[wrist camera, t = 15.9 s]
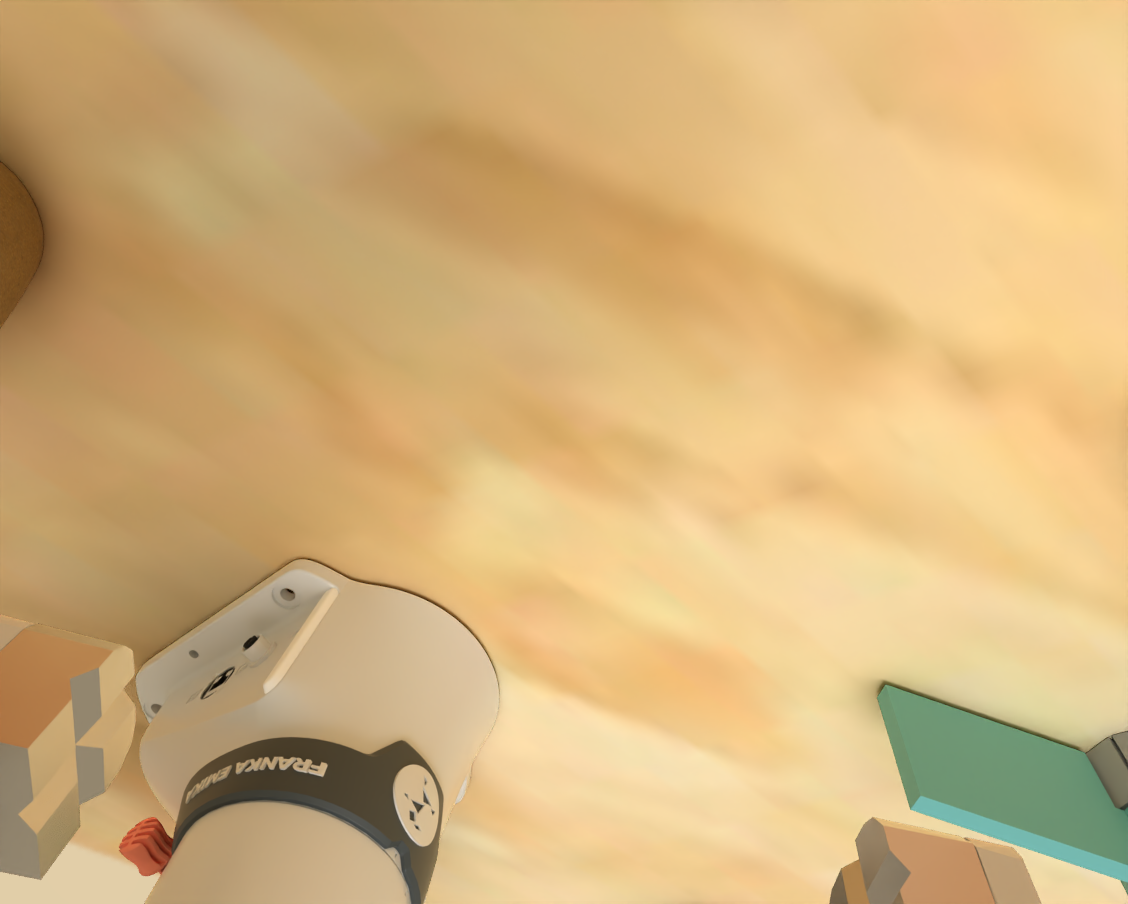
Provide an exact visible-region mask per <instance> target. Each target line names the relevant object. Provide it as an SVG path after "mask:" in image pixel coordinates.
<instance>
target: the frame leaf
mask: <svg viewBox="0 0 1128 904" xmlns="http://www.w3.org/2000/svg"><path fill="white" fill-rule="evenodd" d="M1112 737H1113V740H1114V741H1113V740H1112V739H1110V738H1106V739H1105V740H1104V741H1102V742H1101V743H1100V744H1098V745H1097V746H1096V747H1094V748H1093V749H1091V750H1090V751H1089V752H1087V753H1086V755H1087V757H1088V759H1089V761H1090V763H1091V764H1092V766H1093V768H1094V770H1095V772H1096V773H1097V775H1098V777H1099V779H1100V781H1101V783H1102V784H1103V786H1104V788H1105V790H1106V792H1107V793H1108V795H1109V797H1110V799H1111V801H1112V802H1113V804H1114V806H1115V808H1118V809H1121V810H1124V811H1125V809H1126V808H1127V807H1128V731H1127V732H1123V733H1119V734H1116V735H1112Z"/></svg>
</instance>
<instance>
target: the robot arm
mask: <svg viewBox="0 0 1128 904" xmlns="http://www.w3.org/2000/svg"><path fill="white" fill-rule="evenodd" d="M286 588H288V589H291V590H292V591H293V592H294V593H295V594H293V593H290V592H288V591H287V590H286ZM134 675H135V669H134V656H133V650H131V649H129V648H128V647H126V646H125V645H121V644H117V643H113V642H109V641H105V640H102V639H98V638H94V637H90V636H86V635H82V634H78V633H74V632H70V631H67V630H63V629H59V628H55V627H51V626H47V625H43V624H39V623H38V624H35V623H31V622H27V621H24V620H20V619H16V618H12V617H8V616H4V615H1V614H0V872H5V873H9V874H15V875H19V876H24V877H30V878H34V879H40V880H41V879H42V878H43V876H44V875H45V874H46V872H47V871H48V869H49V868H50V867H51V865H52V864H53V863H54V861H55V860H56V858H57V857H58V856H59V854H60V853H61V852H62V850H63V849H64V848H65V846H66V845H67V843H68V842H69V841H70V839H71V838H72V837H73V835H74V834H75V833H76V831H77V830H78V828H79V827H80V812H79V805H80V804H82V803H84V802H86V801H88V800H90V799H92V798H94V797H96V796H98V795H100V794H102V793H104V792H105V791H106V790H107V788H108V787H109V785H110V784H111V782H112V781H113V780H114V778H115V777H116V775H117V774H118V772H119V771H120V769H121V767H122V764H123V762H124V760H125V758H126V755H127V753H128V751H129V748H130V746H131V744H132V739H133V734H134V729H135V724H136V706H135V704H134V703H133V702H132V700H131V699H130V697H129V696H128V695H127V693H126V692H125V691H124V688H125V686H126V685H127V684H128V683H129V681H130V680H131V679H132V678H133V676H134ZM136 688H137V694H138V698H139V701H140V704H141V707H142V710H143V712H144V714H145V716H146V718H147V720H148V722H149V724H150V725H149V726H148V728H147V730H146V731H145V733H144V735H143V737H142V739H141V743H140V750H139V758H140V763H141V768H142V771H143V774H144V776H145V778H146V780H147V783H148V785H149V787H150V789H151V790H152V792H153V793H154V795H155V797H156V798H157V800H158V801H159V802H160V804H161V805H162V806H163V808H164V809H165V810H166V812H167V813H168V814H169V815H170V817H171V818H172V819H173V820H174V821H175V823H176V827H175V832H174V838H173V839H172V838H170V837H169V836H168V835H167V834H166V832H165V830H164V828H163V826H162V824H161V823H160V822H159V821H158V819H157V818H154V817H151V818H147V819H145V820H143V821H141V822H140V823H138V824H137V825H136V826H135V827H134V828H132V829H131V830H130V831H129V832H128V833H127V835H126V836H125V837H124V838H123V839H122V843H121V844H120V846H119V848H120V850H119V851H120V852H121V853H122V854H123V856H125V857H126V858H127V859H128V860H130V861H131V862H133V863H134V864H135V865H136V866H137V867H138V869H139V873H140V874H141V875H143V876H150V875H153V874H155V873H157V872H159V873H160V874H161V876H160V877H159V879H158V881H157V883H156V884H155V886H154V888H153V890H152V891H151V893H150V895H149V896H148V898H147V900H146V901H145V903H144V904H424V903H425V900H426V894H427V891H428V888H429V884H430V881H431V877H432V874H433V870H434V867H435V864H436V860H437V855H438V847H439V840H440V838H441V835H442V833H443V831H444V828H445V826H446V824H447V821H448V819H449V816H450V814H451V811H452V809H453V807H454V804H456V803H458V802H460V801H461V800H462V799H463V797H464V795H465V792H466V790H467V788H468V785H469V782H470V777H471V769H472V763H473V761H474V759H475V757H476V755H477V754H478V752H479V750H480V749H481V747H482V745H483V744H484V742H485V740H486V739H487V737H488V736H489V734H490V732H491V730H492V728H493V726H494V724H495V721H496V718H497V714H498V709H499V687H498V682H497V678H496V674H495V671H494V668H493V666H492V664H491V662H490V659H489V657H488V656H487V654H486V652H485V651H484V649H483V648H482V646H481V645H480V643H479V642H478V641H477V640H476V638H475V637H474V636H473V635H472V634H471V633H470V632H469V630H467V629H466V628H465V627H464V626H463V625H462V624H461V623H460V622H459V621H458V620H456V619H455V618H454V617H452V616H451V615H450V614H448V613H447V612H445V611H444V610H442V609H441V608H439V607H437V606H436V605H434V604H432V603H430V602H428V601H426V600H424V599H422V598H420V597H417V596H415V595H412V594H409V593H406V592H403V591H400V590H396V589H392V588H388V587H382V586H377V585H371V584H365V583H360V582H356V581H353V580H350V579H348V578H346V577H344V576H343V575H341V574H339V573H337V572H335V571H333V570H331V569H330V568H328V567H325V566H323V565H321V564H319V563H316V562H314V561H310V560H306V559H299V560H295V561H293V562H291V563H289V564H288V565H286V566H285V567H283V568H282V569H280V570H279V571H277V572H276V573H274V574H273V575H272V576H270V577H269V578H267V579H266V580H264V581H263V582H261V583H260V584H258V585H257V586H256V587H254V588H253V589H251V590H250V591H248V592H247V593H245V594H244V595H242V596H241V597H239V598H238V599H237V600H235V601H234V602H232V603H231V604H229V605H228V606H226V607H225V608H223V609H222V610H220V611H219V612H218V613H216V614H215V615H213V616H212V617H210V618H209V619H207V620H206V621H204V622H203V623H202V624H200V625H199V626H197V627H196V628H194V629H193V630H191V631H190V632H188V633H187V634H185V635H184V636H183V637H181V638H180V639H178V640H177V641H175V642H174V643H172V644H171V645H169V646H168V647H167V648H165V649H164V650H162V651H161V652H159V653H158V654H156V655H155V656H154V657H152V658H151V659H149V660H148V661H147V662H146V663H145V664H143V665H142V667H141V669H140V670H139V672H138V674H137V675H136ZM855 841H856V846H857V851H858V856H859V860H857V861H855V862H853V863H851V864H849V865H847V866H845V867H843V868H841V870H840V873H839V875H838V877H837V879H836V882H835V884H834V886H833V888H832V892H831V897H830V903H829V904H1041V902H1040V899H1039V897H1038V894H1037V892H1036V890H1035V887H1034V885H1033V882H1032V880H1031V878H1030V875H1029V873H1028V871H1027V868H1026V866H1025V863H1024V861H1023V859H1022V857H1021V856H1020V855H1019V854H1018V853H1017V852H1016V851H1015V849H1014V848H1012V847H1008V846H1003V845H999V844H994V843H989V842H985V841H980V840H976V839H971V838H962V837H960V836H957V835H952V834H947V833H943V832H938V831H934V830H929V829H925V828H920V827H916V826H911V825H907V824H902V823H897V822H893V821H888V820H884V819H879V818H875V817H872V818H871V819H870V820H869V821H867V822H866V823H865V824H864V825H863V827H862V829H861V831H860V833H859V835H858V836H857V838H856V840H855Z"/></svg>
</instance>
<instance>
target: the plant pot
mask: <svg viewBox="0 0 1128 904" xmlns="http://www.w3.org/2000/svg"><path fill="white" fill-rule="evenodd" d="M43 239H44V238H43V229H42V224H41V220H40V217H39V214H38V211H37V209H36V206H35V204H34V202H33V200H32V198H31V196H30V195H29V193H28V191H27V190H26V188H25V187H24V185H23V184H22V183H21V182H20V180H19V179H18V178H17V177H16V176H15V175H14V174H13V173H12V172H11V171H10V170H9V169H8V168H7V167H6V166H5V165H4V164H3V163H2V162H0V328H1V327H2V325H3V324H4V322H5V321H6V319H7V318H8V317H9V315H10V314H11V312H12V311H13V309H14V308H15V306H16V305H17V303H18V301H19V300H20V298H21V297H22V295H23V293H24V292H25V290H26V288H27V286H28V285H29V283H30V281H31V279H32V278H33V276H34V274H35V272H36V270H37V268H38V266H39V264H40V261H41V257H42V253H43Z"/></svg>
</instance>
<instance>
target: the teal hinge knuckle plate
mask: <svg viewBox="0 0 1128 904" xmlns="http://www.w3.org/2000/svg"><path fill="white" fill-rule="evenodd" d="M877 699H878V702H879V706H880V709H881V712H882V716H883V719H884V722H885V726H886V729H887V732H888V736H889V739H890V743H891V746H892V749H893V753H894V756H895V759H896V763H897V766H898V770H899V773H900V776H901V780H902V783H903V786H904V790H905V793H906V796H907V800H908V803H909V807H910V810H913V811H916V812H919V813H922V814H925V815H928V816H931V817H934V818H937V819H940V820H943V821H946V822H949V823H952V824H955V825H958V826H961V827H964V828H967V829H970V830H973V831H976V832H979V833H982V834H985V835H988V836H991V837H994V838H997V839H999V840H1002V841H1005V842H1008V843H1011V844H1014V845H1017V846H1020V847H1023V848H1026V849H1029V850H1032V851H1035V852H1038V853H1041V854H1044V855H1047V856H1050V857H1053V858H1056V859H1059V860H1062V861H1065V862H1068V863H1071V864H1074V865H1077V866H1080V867H1083V868H1086V869H1089V870H1092V871H1095V872H1098V873H1101V874H1104V875H1107V876H1110V877H1113V878H1116V879H1119V880H1120V881H1121V883H1122V884H1123V886H1124V888H1125V890H1126V892H1127V894H1128V807H1127V808H1126V809H1125V811H1124V810H1121V809H1118V808H1115V806H1114V804H1113V802H1112V801H1111V799H1110V797H1109V795H1108V793H1107V792H1106V790H1105V788H1104V786H1103V784H1102V783H1101V781H1100V779H1099V777H1098V775H1097V773H1096V772H1095V770H1094V768H1093V766H1092V764H1091V763H1090V761H1089V759H1088V757H1087V755H1086V754H1085V753H1084V752H1082V751H1079V750H1076V749H1073V748H1070V747H1067V746H1064V745H1061V744H1058V743H1055V742H1052V741H1049V740H1047V739H1044V738H1041V737H1038V736H1035V735H1032V734H1029V733H1026V732H1023V731H1020V730H1017V729H1014V728H1011V727H1009V726H1006V725H1003V724H1000V723H997V722H994V721H991V720H988V719H985V718H982V717H979V716H976V715H974V714H971V713H968V712H965V711H962V710H959V709H956V708H953V707H950V706H947V705H944V704H941V703H938V702H936V701H933V700H930V699H927V698H924V697H921V696H918V695H915V694H912V693H909V692H906V691H903V690H900V689H898V688H895V687H892V686H889V685H885V686H884V688H883V689H882V691H881V692H880V694H879V695H878V697H877Z"/></svg>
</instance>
